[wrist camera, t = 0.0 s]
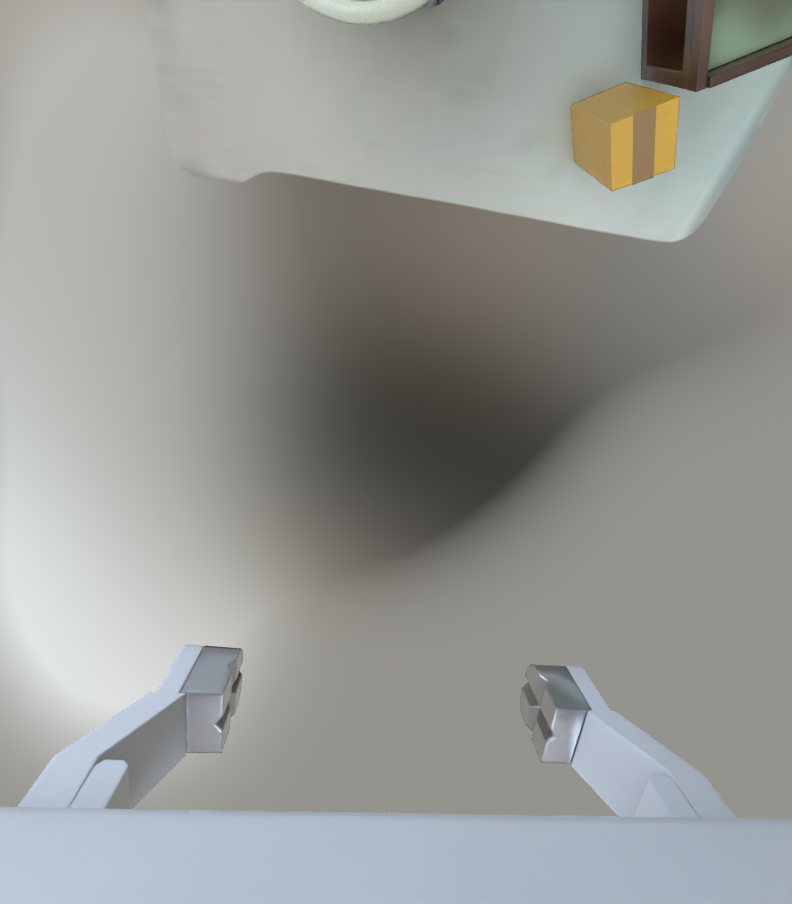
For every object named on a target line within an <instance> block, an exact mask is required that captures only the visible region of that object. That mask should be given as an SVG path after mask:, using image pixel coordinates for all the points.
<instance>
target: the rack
mask: <svg viewBox="0 0 792 904" xmlns="http://www.w3.org/2000/svg"><path fill="white" fill-rule="evenodd" d="M791 55H792V0H643V17H642V61H641V79H644V80H649V81H653V82H657V83H662V84H666V85H670V86H674V87H678V88H682V89H687V90H690V91H694V92H697V91H700V90H702V89H705V88H706V87H707V88H712V87H714V86H717V85H719V84H722V83H724V82H727V81H729V80H732V79H734V78H737V77H739V76H741V75H744V74H746V73H749V72H751V71H754V70H756V69H759V68H761V67H764V66H766V65H769V64H771V63H774V62H776V61H779V60H781V59H784V58H786V57H789V56H791Z"/></svg>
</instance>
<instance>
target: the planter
mask: <svg viewBox="0 0 792 904" xmlns="http://www.w3.org/2000/svg"><path fill="white" fill-rule="evenodd" d="M298 1H299V2H301V3H302V4H304V5H305V6H307V7H308V8H310V9H312V10H313V11H315V12H317V13H319V14H321V15H323V16H326V17H328V18H331V19H334V20H337V21H340V22H345V23H349V24H358V25H371V24H380V23H385V22H389V21H393V20H396V19H398V18H401V17H403V16H405V15H407V14H409V13H411V12H413V11H415V10H416V9H418V8H420V7H421V6H422V5H424V4H425V3H426V5H427V7H428V8H431V7H434V6H436V5H439V4H441V3H442V2H443V0H298Z"/></svg>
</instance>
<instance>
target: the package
mask: <svg viewBox="0 0 792 904" xmlns="http://www.w3.org/2000/svg"><path fill="white" fill-rule="evenodd" d="M679 98H680V97H679V96H675V95H671V94H667V93H664V92H660V91H656V90H652V89H649V88H645V87H641V86H638V85H634V84H630V83H626V82H625V83H622V84H620V85H618V86H615V87H613V88H611V89H608V90H606V91H604V92H601V93H599V94H596V95H594V96H592V97H589V98H587V99H585V100H582V101H580V102H577V103H575V104H573V105H571V116H572V132H573V147H574V162H575V163H576V164H577V165H579V166H580V167H581V168H583V169H584V170H585V171H586V172H588V173H589V174H590V175H591V176H593V177H594V178H595V179H597V180H598V181H599V182H600V183H602V184H603V185H604V186H605V187H607V188H608V189H609V190H611V191H614V190H617V189H620V188H622V187H625V186H628V185H631V184H632V185H634V184H637V183H639V182H642V181H645V180H647V179H650V178H653V176H655V175H658V174H660V173H663V172H666V171H669V170H671V169H674V168H675V154H676V140H677V126H678V112H679Z"/></svg>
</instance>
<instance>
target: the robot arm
mask: <svg viewBox="0 0 792 904" xmlns="http://www.w3.org/2000/svg"><path fill="white" fill-rule="evenodd" d="M242 662H243V650H242V649H240V648H228V647H214V646H197V645H185V646H184V647H183V648H182V649H181V650H180V652H179V654H178V656H177V657H176V659H175V661H174V663H173V664H172V666H171V668H170V670H169V671H168V673H167V675H166V677H165V679H164V680H163V682H162V684H161V686H160V687H159V690H158V691H157V692H150V693H149V694H147V695H145V696H144V697H142V698H141V699H139V700H138V701H136V702H135V703H133V704H132V705H130V706H129V707H127V708H126V709H124V710H123V711H121V712H120V713H118V714H117V715H115V716H114V717H112V718H111V719H110V720H108V721H106V722H105V723H103V724H102V725H100V726H99V727H97V728H96V729H94V730H93V731H92V732H90V733H88V734H87V735H85V736H83V737H82V738H80V739H79V740H77V741H76V742H74V743H73V744H71V745H70V746H68V747H67V748H65V749H64V750H62V751H61V752H59V753H58V754H56V755H55V756H54V757H53V758H52V759H51V761H50V762H49V763H48V765H47V766H46V768H45V769H44V771H43V772H42V773H41V775H40V776H39V777H38V779H37V780H36V782H35V783H34V785H33V786H32V787H31V788H30V790H29V791H28V793H27V794H26V795H25V797H24V798H23V800H22V801H21V802H20V804H19V805H18V807H0V904H792V819H752V818H736V817H735V815H734V814H733V813H732V812H731V810H730V809H729V808H728V806H727V805H726V804H725V802H724V801H723V800H722V798H721V797H720V796H719V794H718V793H717V792H716V790H715V789H714V788H713V786H712V785H711V784H710V782H709V781H708V780H707V779H706V777H705V776H704V775H703V774H702V773H701V772H699V771H698V770H696V769H695V768H694V767H692V766H691V765H690V764H688V763H687V762H685V761H684V760H683V759H681V758H679V757H678V756H677V755H676V754H674V753H673V752H672V751H670V750H669V749H667V748H666V747H665V746H663V745H662V744H660V743H659V742H657V741H656V740H655V739H653V738H652V737H651V736H649V735H648V734H646V733H645V732H644V731H642V730H641V729H639V728H638V727H637V726H635V725H634V724H633V723H631V722H630V721H628V720H627V719H626V718H624V717H623V716H621V715H620V714H618V713H617V712H612V711H611V710H610V709H609V707H608V706H607V704H606V703H605V701H604V700H603V698H602V697H601V695H600V694H599V692H598V690H597V689H596V687H595V686H594V684H593V683H592V681H591V680H590V678H589V677H588V675H587V674H586V672H585V671H584V669H583V668H582V667H580V666H567V665H563V666H558V665H536V664H530V665H529V667H528V668H527V671H526V678H527V680H528V683H527V684H526V685H525V686H524V687H523V688H522V691H521V696H520V709H521V713H522V717H523V720H524V722H525V725H526V726H528V728H530V729H531V730H532V731H533V735H532V742H533V744H534V747H535V749H536V752H537V754H538V756H539V759H540V761H541V762H547V763H562V764H563V763H564V764H571V766H572V767H573V768H574V770H575V771H576V772H577V773H578V774H579V775H580V776H581V777H582V778H583V779H584V780H585V781H586V782H587V783H588V784H589V785H590V787H591V788H592V789H593V790H594V791H595V792H596V793H597V794H598V795H599V796H600V797H601V798H602V799H603V800H604V801H605V802H606V803H607V804H608V806H609V807H610V808H611V809H612V810H613V811H614V812H615V813H616V814H617V815H618V816H548V815H491V814H489V815H488V814H429V813H428V814H427V813H361V812H295V811H230V810H229V811H226V810H225V811H224V810H162V809H158V810H157V809H133V808H134V807H135V806H136V805H137V804H138V803H139V802H140V801H141V800H142V799H143V798H144V797H145V796H146V795H147V794H148V793H149V792H150V790H152V789H153V788H154V787H155V786H156V785H157V784H158V783H159V781H161V780H162V779H163V778H164V777H165V776H166V775H167V774H168V772H170V771H171V770H172V769H173V768H174V767H175V766H176V765H177V763H178V762H179V761H181V759H182V758H184V757H185V755H186V753H222V751H223V748H224V745H225V742H226V739H227V736H228V733H229V730H230V717H231V716H232V715H234V714H235V711H236V708H237V705H238V701H239V696H240V692H241V684H242V674H241V673H240V671H239V670H240V667H241V665H242Z"/></svg>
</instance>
